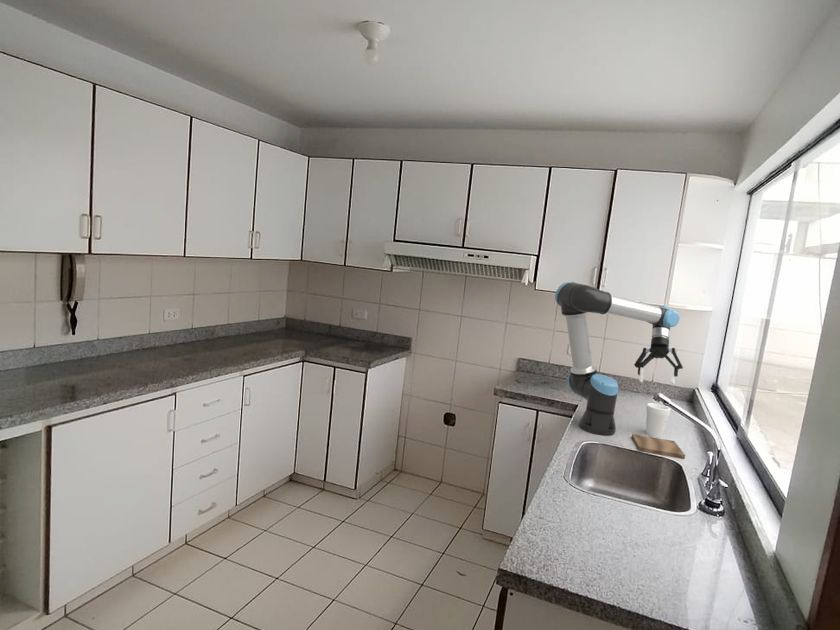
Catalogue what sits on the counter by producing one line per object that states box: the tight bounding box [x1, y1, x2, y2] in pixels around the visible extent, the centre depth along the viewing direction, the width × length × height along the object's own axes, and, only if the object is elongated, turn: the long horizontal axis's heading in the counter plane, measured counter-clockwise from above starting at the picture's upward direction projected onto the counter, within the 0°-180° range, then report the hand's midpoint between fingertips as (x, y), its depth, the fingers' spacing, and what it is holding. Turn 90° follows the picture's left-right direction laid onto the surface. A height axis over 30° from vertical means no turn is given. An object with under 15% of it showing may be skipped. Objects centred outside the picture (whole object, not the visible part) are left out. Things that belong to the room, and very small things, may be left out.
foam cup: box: [645, 402, 671, 439], centre depth 227 cm, size 10×9×13 cm
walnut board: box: [631, 433, 686, 460], centre depth 212 cm, size 17×16×2 cm
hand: (656, 382), depth 232 cm, fingers open, 13 cm apart
